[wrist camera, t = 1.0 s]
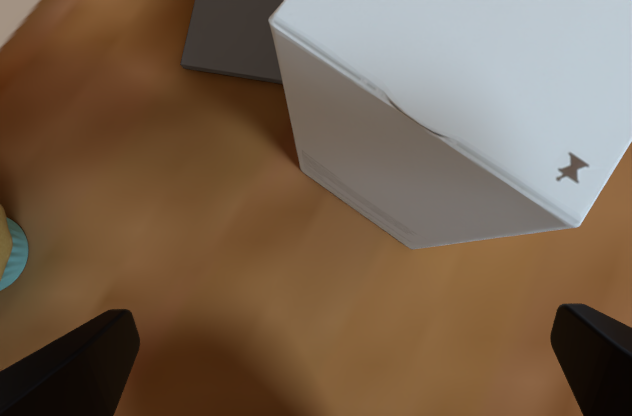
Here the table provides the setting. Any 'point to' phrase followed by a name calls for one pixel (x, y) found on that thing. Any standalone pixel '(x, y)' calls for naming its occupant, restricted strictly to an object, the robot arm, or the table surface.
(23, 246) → the cupcake
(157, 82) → the table surface
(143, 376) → the table surface
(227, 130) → the table surface
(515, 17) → the supplement box
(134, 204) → the table surface
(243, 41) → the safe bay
